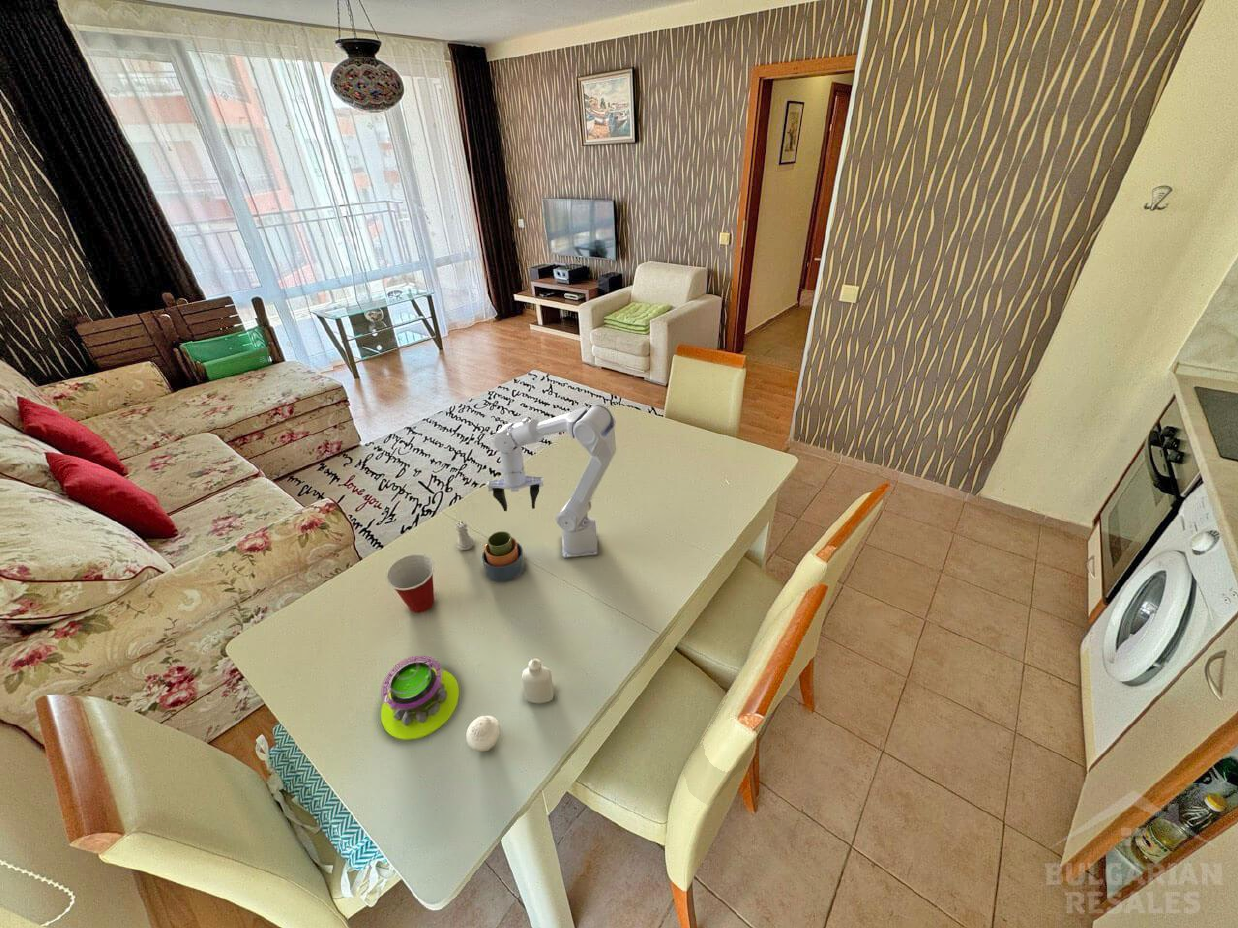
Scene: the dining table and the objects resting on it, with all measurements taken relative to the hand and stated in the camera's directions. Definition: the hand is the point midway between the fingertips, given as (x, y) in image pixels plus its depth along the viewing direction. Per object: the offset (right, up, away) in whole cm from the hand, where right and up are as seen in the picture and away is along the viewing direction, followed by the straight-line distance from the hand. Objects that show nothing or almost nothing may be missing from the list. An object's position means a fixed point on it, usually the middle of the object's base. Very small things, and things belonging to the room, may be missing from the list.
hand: (519, 507), depth 136 cm
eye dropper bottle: (+12, -35, -36) cm, 52 cm away
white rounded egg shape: (+3, -40, -44) cm, 60 cm away
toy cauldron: (-12, -36, -37) cm, 53 cm away
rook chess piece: (-15, -11, +1) cm, 19 cm away
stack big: (-3, -15, -6) cm, 17 cm away
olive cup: (-3, -12, -8) cm, 15 cm away
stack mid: (-3, -15, -6) cm, 17 cm away
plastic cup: (-21, -22, -16) cm, 35 cm away
